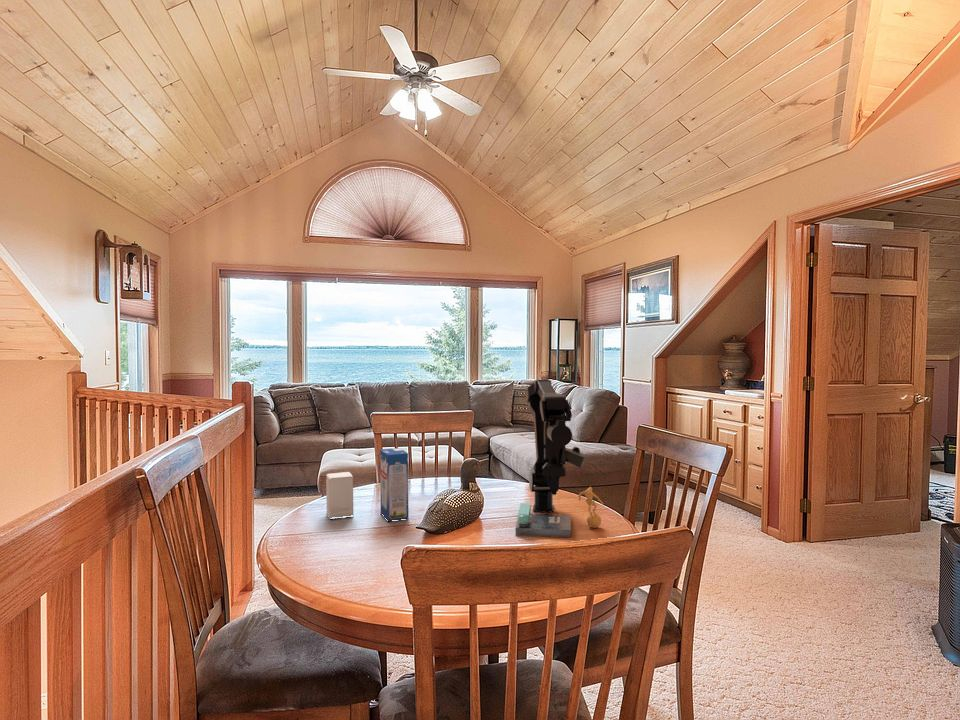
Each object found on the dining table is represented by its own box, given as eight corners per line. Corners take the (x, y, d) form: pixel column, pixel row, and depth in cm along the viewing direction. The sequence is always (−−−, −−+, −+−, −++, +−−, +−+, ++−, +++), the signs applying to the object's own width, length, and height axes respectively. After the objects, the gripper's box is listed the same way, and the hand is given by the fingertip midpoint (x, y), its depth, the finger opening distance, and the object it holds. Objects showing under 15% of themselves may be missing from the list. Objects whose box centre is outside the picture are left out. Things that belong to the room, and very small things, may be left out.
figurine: (610, 529, 152) (610, 486, 152) (598, 534, 148) (598, 490, 148) (586, 522, 158) (585, 481, 158) (573, 527, 154) (573, 485, 154)
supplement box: (354, 517, 165) (353, 476, 164) (328, 520, 162) (328, 478, 162) (350, 510, 171) (350, 471, 171) (326, 513, 169) (325, 473, 168)
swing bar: (520, 509, 161) (520, 503, 161) (530, 510, 161) (530, 503, 161) (517, 524, 148) (517, 516, 148) (528, 524, 147) (528, 517, 147)
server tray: (519, 519, 162) (519, 510, 162) (569, 521, 160) (569, 512, 160) (515, 535, 148) (515, 525, 148) (571, 537, 146) (571, 527, 146)
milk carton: (380, 513, 169) (380, 449, 168) (400, 510, 171) (399, 447, 171) (388, 522, 159) (387, 454, 159) (408, 519, 162) (408, 453, 161)
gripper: (584, 446, 144) (584, 504, 144) (581, 435, 162) (581, 487, 162) (542, 445, 145) (542, 503, 145) (544, 434, 164) (544, 485, 164)
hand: (554, 494), depth 154 cm, fingers closed
